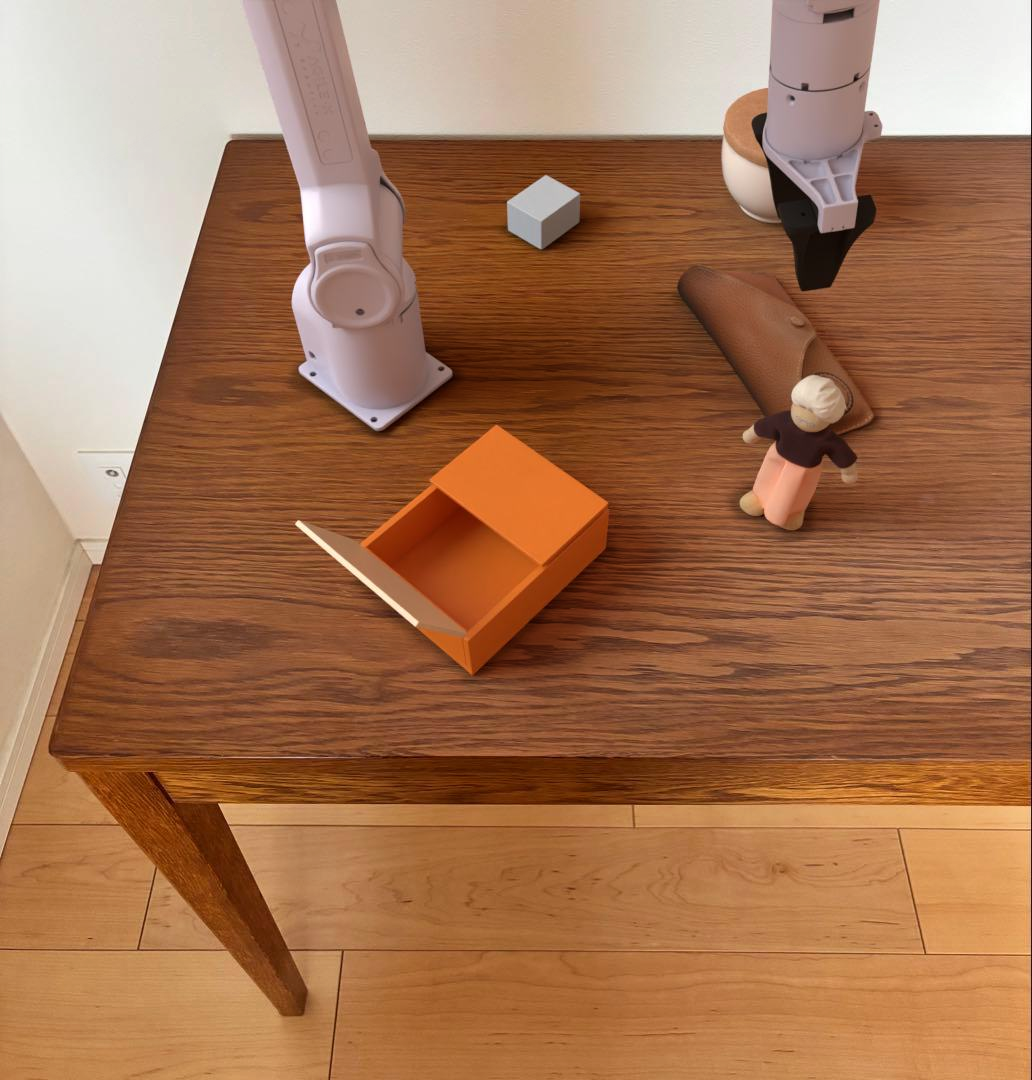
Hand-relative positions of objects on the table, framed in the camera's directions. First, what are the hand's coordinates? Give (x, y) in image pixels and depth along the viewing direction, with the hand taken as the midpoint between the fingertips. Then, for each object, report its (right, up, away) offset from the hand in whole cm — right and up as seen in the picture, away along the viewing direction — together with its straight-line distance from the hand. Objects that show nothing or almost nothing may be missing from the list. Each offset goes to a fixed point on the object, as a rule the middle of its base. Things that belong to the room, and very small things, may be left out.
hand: (803, 248), depth 68 cm
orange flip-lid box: (-22, -22, -2) cm, 31 cm away
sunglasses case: (0, -6, +9) cm, 11 cm away
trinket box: (+3, +10, +19) cm, 22 cm away
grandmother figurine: (-2, -18, 0) cm, 18 cm away
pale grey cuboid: (-17, +7, +18) cm, 26 cm away
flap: (-28, -22, -12) cm, 37 cm away
